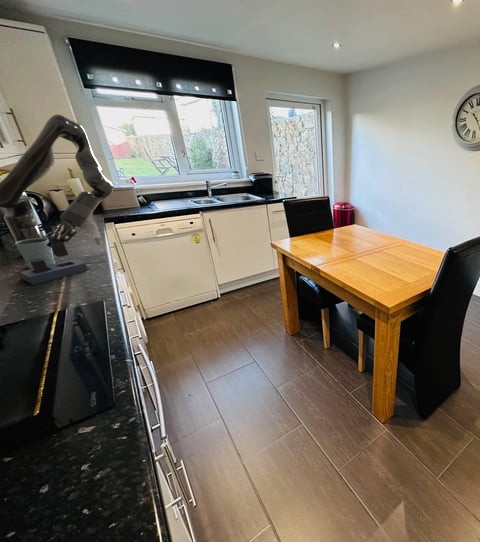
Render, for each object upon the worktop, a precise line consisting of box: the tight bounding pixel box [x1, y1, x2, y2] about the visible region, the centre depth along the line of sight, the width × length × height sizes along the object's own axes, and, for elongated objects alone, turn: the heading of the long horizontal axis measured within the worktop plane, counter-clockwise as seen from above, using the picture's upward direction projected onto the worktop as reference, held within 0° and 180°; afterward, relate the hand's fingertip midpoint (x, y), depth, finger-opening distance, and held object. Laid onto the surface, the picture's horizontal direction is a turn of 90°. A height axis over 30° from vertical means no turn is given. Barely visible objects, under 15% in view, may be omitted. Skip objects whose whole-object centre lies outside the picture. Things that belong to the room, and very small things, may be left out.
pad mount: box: [19, 258, 89, 286], centre depth 121 cm, size 10×18×4 cm, turn 153°
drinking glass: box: [14, 237, 56, 270], centre depth 128 cm, size 10×10×12 cm
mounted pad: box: [30, 258, 48, 273], centre depth 117 cm, size 4×3×8 cm
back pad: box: [48, 236, 69, 258], centre depth 120 cm, size 4×3×8 cm
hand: (51, 247), depth 118 cm, fingers closed on back pad, 4 cm apart
